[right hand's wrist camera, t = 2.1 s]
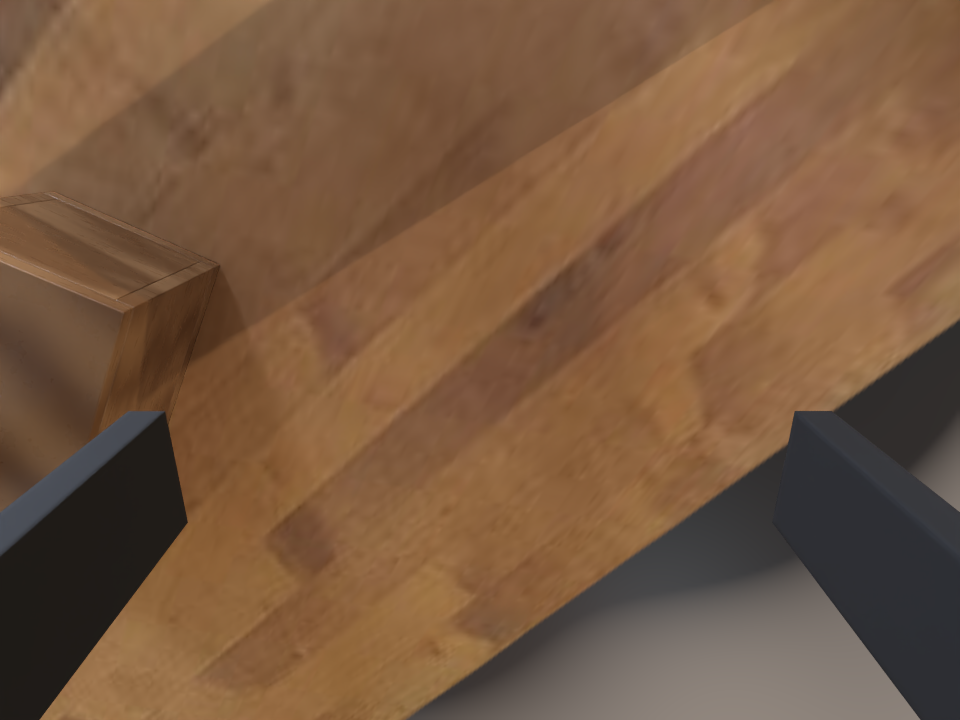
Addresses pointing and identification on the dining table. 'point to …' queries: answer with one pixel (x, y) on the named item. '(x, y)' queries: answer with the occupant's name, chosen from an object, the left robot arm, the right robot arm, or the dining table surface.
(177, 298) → the cabinet
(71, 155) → the dining table surface
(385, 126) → the dining table surface
